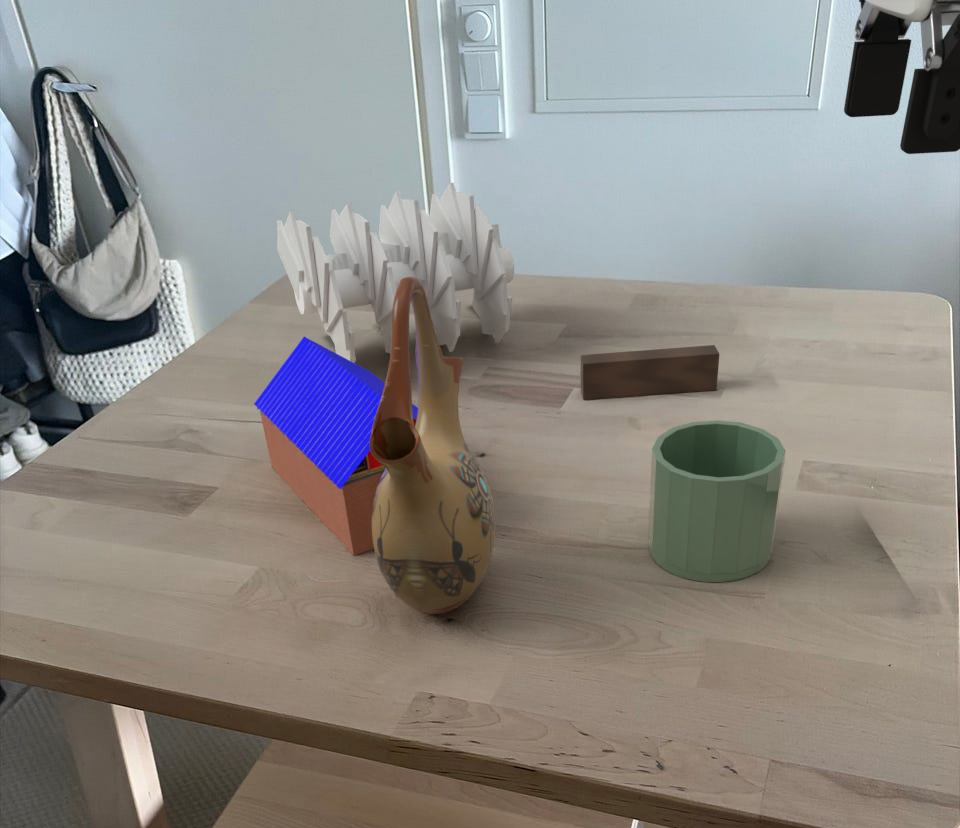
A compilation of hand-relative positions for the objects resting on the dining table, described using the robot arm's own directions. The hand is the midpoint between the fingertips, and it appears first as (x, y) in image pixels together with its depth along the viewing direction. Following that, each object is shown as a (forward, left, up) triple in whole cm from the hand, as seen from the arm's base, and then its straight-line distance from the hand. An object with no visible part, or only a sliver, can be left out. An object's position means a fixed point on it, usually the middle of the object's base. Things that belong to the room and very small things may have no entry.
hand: (898, 132), depth 59 cm
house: (+36, -20, -32) cm, 53 cm away
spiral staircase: (+32, -52, -32) cm, 69 cm away
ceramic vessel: (+29, -2, -32) cm, 44 cm away
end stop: (+7, -37, -32) cm, 50 cm away
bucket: (+7, -6, -32) cm, 33 cm away
